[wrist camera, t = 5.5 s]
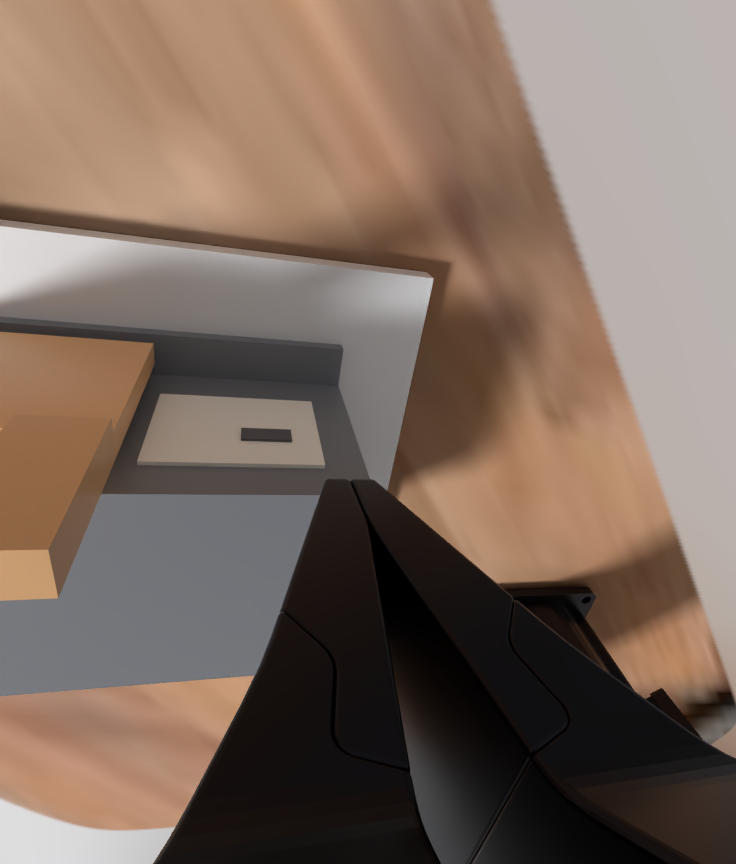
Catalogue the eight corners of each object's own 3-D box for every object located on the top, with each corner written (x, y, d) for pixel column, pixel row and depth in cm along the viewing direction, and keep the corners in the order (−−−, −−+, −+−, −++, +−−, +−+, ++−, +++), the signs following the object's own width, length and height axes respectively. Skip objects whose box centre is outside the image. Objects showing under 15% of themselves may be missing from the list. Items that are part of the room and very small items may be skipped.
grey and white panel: (425, 272, 16) (526, 355, 10) (362, 573, 22) (401, 730, 16) (-335, 177, 11) (-952, 229, 5) (-140, 590, 17) (-329, 815, 12)
